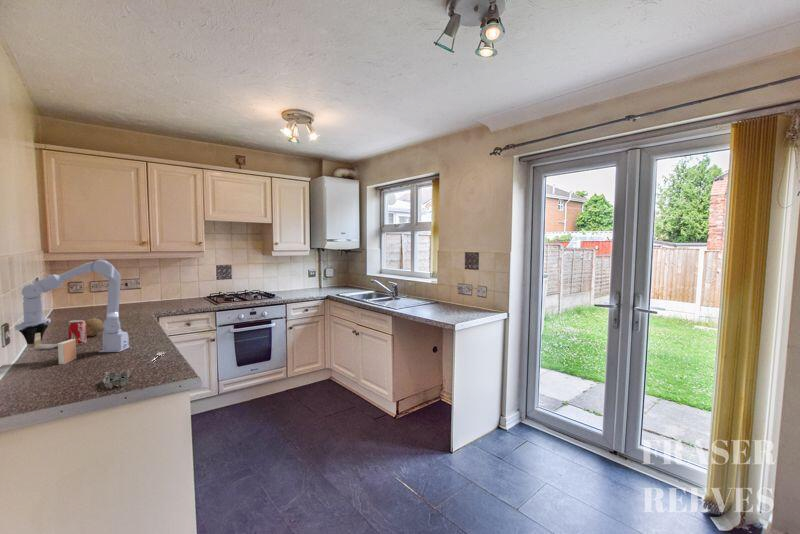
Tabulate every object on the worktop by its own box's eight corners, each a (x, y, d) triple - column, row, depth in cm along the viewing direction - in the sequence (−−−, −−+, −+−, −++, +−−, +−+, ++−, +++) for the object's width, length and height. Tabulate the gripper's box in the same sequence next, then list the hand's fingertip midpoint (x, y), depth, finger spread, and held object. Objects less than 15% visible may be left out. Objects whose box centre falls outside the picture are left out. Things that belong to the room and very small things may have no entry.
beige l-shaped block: (60, 345, 157) (60, 332, 157) (50, 348, 152) (50, 334, 152) (35, 345, 156) (35, 331, 156) (24, 348, 151) (24, 334, 151)
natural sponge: (105, 333, 202) (105, 315, 201) (103, 336, 194) (103, 318, 194) (84, 335, 197) (84, 317, 196) (82, 338, 189) (81, 320, 189)
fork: (138, 372, 145) (137, 367, 145) (157, 356, 164) (157, 352, 164) (147, 371, 146) (146, 367, 146) (165, 355, 165) (165, 351, 165)
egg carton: (106, 381, 134) (106, 370, 134) (131, 377, 138) (130, 367, 138) (102, 390, 125) (101, 379, 125) (128, 386, 130) (128, 375, 129)
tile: (76, 358, 158) (75, 338, 157) (63, 364, 151) (62, 343, 150) (71, 358, 158) (71, 339, 157) (58, 364, 151) (57, 343, 150)
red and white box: (75, 346, 176) (74, 322, 175) (64, 345, 177) (63, 321, 177) (90, 342, 183) (89, 319, 182) (79, 341, 184) (78, 318, 183)
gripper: (37, 308, 159) (39, 338, 160) (6, 315, 145) (7, 347, 146) (55, 308, 160) (56, 338, 161) (25, 315, 146) (26, 347, 147)
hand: (34, 342), depth 153 cm, fingers closed on beige l-shaped block, 3 cm apart
